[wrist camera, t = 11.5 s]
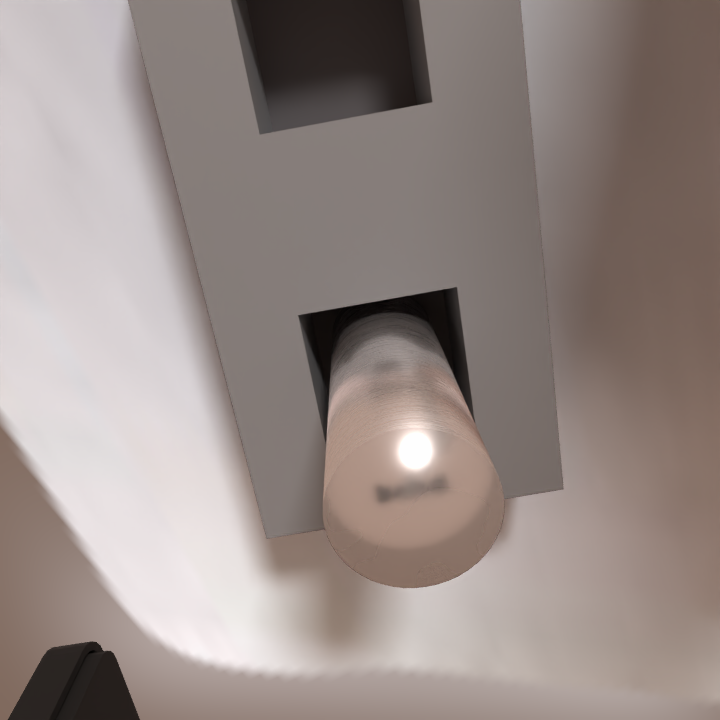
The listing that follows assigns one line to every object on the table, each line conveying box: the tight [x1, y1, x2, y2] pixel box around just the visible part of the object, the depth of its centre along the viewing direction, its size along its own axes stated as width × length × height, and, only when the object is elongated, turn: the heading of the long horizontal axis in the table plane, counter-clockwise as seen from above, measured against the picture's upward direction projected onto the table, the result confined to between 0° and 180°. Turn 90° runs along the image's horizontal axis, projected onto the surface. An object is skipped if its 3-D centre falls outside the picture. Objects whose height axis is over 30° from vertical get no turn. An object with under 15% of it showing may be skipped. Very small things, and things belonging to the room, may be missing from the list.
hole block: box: [128, 0, 563, 539], centre depth 22 cm, size 10×20×5 cm, turn 10°
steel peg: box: [323, 296, 504, 588], centre depth 19 cm, size 4×4×12 cm
